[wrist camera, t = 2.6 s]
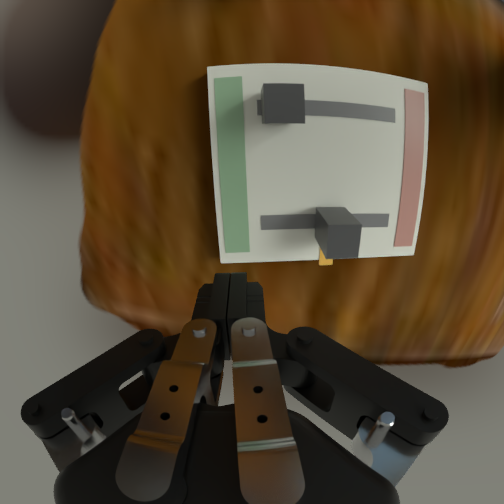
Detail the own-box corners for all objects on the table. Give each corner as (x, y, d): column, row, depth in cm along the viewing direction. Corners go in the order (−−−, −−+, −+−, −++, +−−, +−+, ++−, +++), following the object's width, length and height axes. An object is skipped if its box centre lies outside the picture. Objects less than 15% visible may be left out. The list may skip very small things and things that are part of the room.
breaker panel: (416, 84, 19) (428, 83, 17) (403, 250, 26) (413, 260, 24) (210, 71, 19) (207, 66, 17) (223, 257, 26) (221, 269, 24)
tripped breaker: (344, 207, 22) (361, 224, 18) (342, 236, 23) (358, 257, 19) (315, 207, 22) (328, 224, 18) (314, 236, 23) (326, 259, 19)
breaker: (294, 90, 18) (304, 83, 14) (295, 123, 19) (305, 123, 15) (260, 90, 18) (263, 83, 14) (262, 123, 19) (264, 123, 15)
